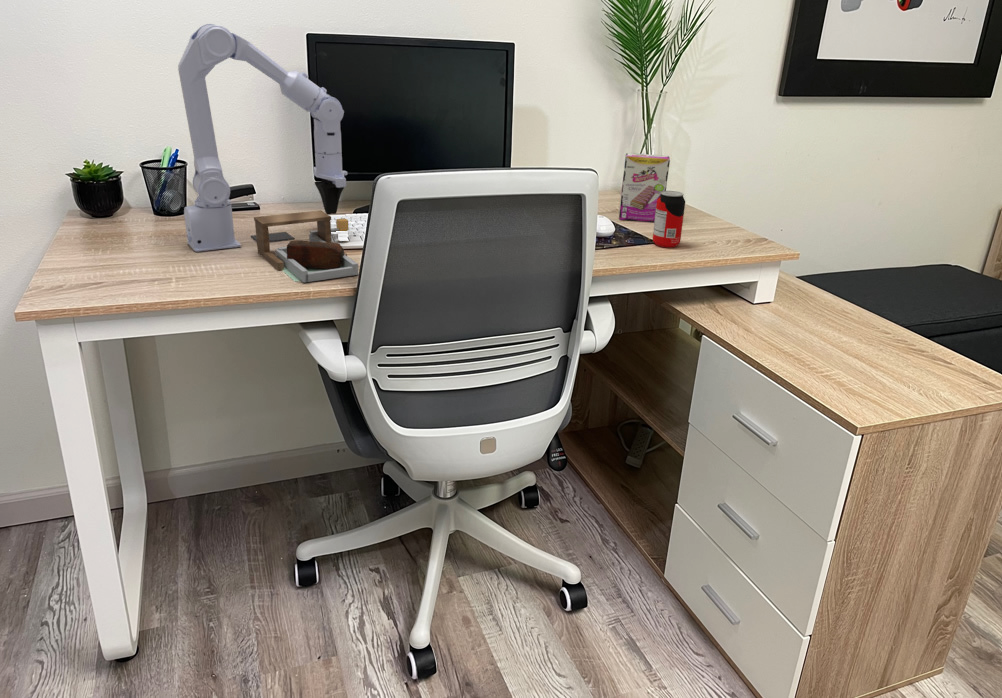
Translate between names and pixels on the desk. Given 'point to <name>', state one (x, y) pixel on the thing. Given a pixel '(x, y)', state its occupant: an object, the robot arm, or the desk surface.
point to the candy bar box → (642, 185)
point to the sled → (302, 274)
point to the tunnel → (285, 219)
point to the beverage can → (668, 219)
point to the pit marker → (276, 236)
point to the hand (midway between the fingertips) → (331, 213)
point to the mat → (305, 268)
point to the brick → (316, 254)
